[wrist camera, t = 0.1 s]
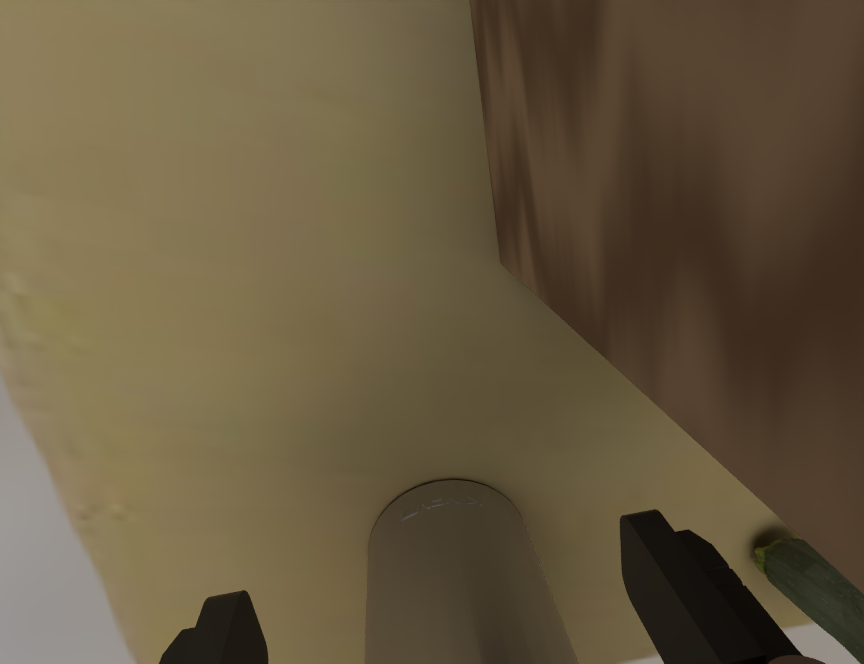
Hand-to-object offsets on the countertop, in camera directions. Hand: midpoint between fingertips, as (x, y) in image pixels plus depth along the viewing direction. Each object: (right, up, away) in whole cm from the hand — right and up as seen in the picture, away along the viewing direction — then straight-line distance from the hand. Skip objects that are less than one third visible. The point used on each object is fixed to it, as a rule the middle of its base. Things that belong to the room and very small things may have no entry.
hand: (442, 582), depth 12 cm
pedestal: (+9, +19, +13) cm, 25 cm away
